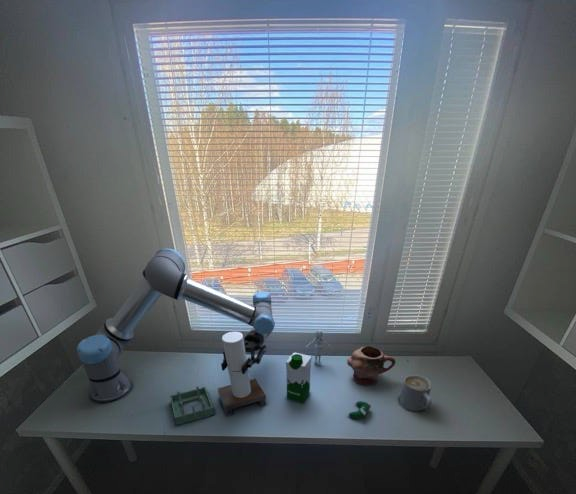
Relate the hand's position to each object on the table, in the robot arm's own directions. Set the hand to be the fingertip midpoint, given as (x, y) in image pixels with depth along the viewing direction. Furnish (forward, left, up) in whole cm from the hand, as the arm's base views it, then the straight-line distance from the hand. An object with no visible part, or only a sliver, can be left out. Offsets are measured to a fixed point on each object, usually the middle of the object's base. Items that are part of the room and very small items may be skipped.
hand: (232, 369), depth 115 cm
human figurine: (-15, +43, -19) cm, 49 cm away
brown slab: (-4, +3, -19) cm, 20 cm away
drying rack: (-8, -16, -19) cm, 26 cm away
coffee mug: (+26, +64, -19) cm, 72 cm away
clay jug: (+4, +58, -19) cm, 61 cm away
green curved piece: (+21, +42, -19) cm, 51 cm away
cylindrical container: (-3, +3, -14) cm, 15 cm away
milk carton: (+2, +25, -19) cm, 32 cm away
